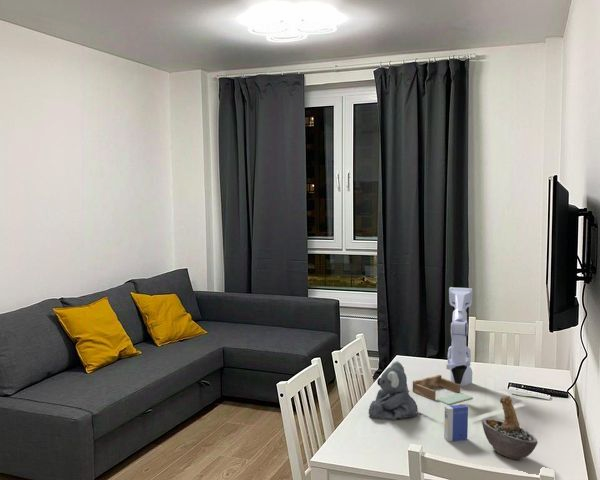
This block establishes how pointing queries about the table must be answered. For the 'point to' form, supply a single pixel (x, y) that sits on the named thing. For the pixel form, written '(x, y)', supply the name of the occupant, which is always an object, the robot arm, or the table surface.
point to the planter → (509, 434)
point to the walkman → (456, 422)
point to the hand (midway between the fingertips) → (457, 383)
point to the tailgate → (454, 398)
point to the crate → (433, 386)
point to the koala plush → (393, 396)
